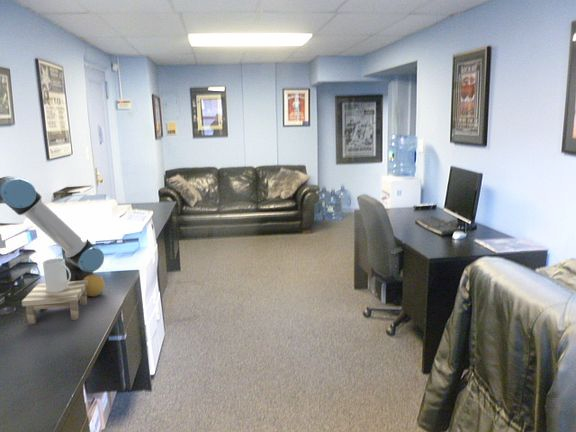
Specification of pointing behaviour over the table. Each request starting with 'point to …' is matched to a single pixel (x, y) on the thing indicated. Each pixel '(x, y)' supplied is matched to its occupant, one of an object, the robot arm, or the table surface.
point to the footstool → (55, 299)
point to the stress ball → (94, 285)
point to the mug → (56, 275)
